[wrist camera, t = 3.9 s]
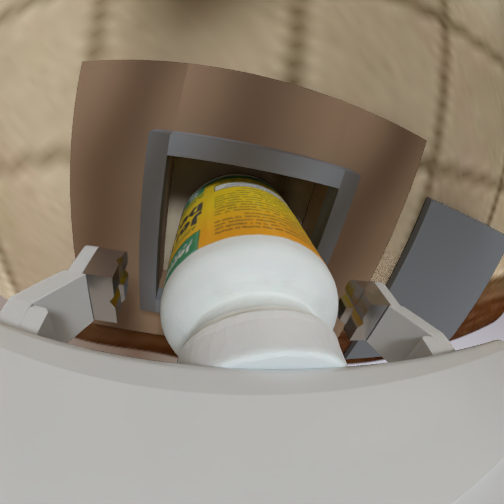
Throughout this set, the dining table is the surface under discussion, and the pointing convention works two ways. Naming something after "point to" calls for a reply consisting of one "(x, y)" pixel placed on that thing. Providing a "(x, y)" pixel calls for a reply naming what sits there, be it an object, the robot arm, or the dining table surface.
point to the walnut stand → (228, 152)
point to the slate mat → (441, 270)
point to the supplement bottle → (247, 283)
